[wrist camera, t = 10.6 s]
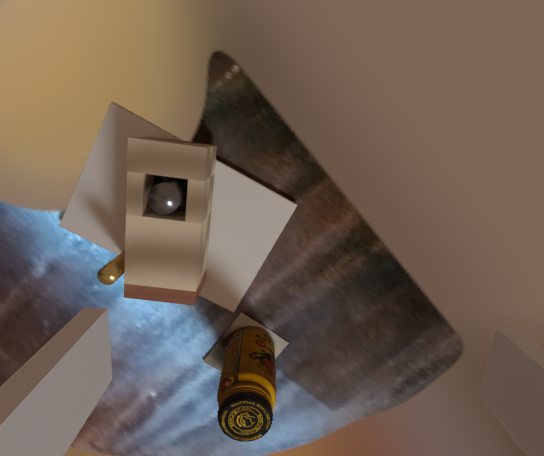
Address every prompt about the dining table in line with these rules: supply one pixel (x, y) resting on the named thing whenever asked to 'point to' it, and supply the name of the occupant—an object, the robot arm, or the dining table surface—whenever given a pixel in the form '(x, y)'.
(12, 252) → the dining table surface
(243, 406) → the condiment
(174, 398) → the dining table surface
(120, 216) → the base board
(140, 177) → the beige block with hole
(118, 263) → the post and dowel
